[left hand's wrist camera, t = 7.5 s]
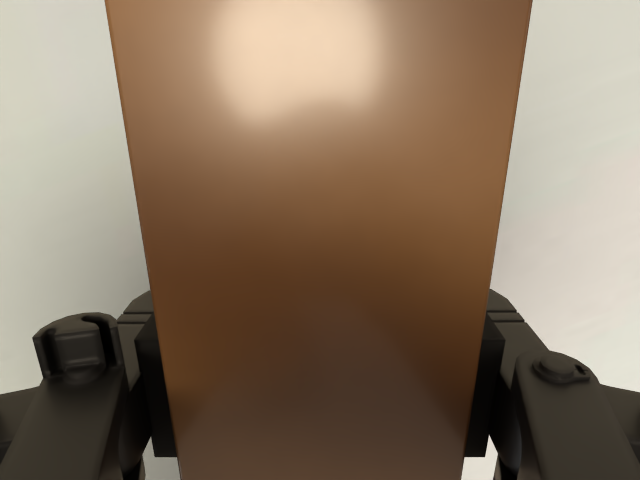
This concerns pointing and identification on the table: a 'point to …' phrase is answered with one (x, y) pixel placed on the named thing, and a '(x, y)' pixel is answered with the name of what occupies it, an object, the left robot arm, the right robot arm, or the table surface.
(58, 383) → the left robot arm
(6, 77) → the table surface
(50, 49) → the table surface
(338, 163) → the beam
